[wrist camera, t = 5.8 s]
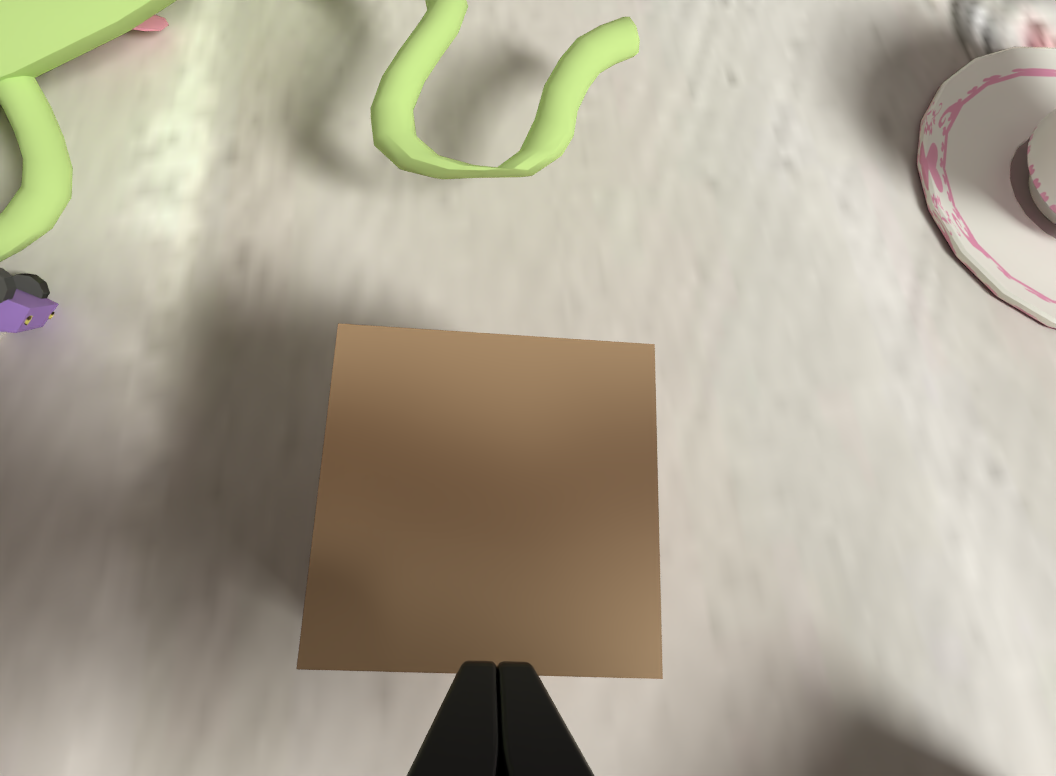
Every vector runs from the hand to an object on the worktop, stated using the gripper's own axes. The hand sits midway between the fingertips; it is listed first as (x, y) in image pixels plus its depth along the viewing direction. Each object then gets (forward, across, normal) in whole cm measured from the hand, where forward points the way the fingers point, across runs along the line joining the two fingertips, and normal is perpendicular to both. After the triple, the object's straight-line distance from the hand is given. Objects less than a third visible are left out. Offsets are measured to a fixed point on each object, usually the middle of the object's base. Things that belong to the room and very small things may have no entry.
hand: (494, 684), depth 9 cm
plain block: (+10, 0, +6) cm, 11 cm away
